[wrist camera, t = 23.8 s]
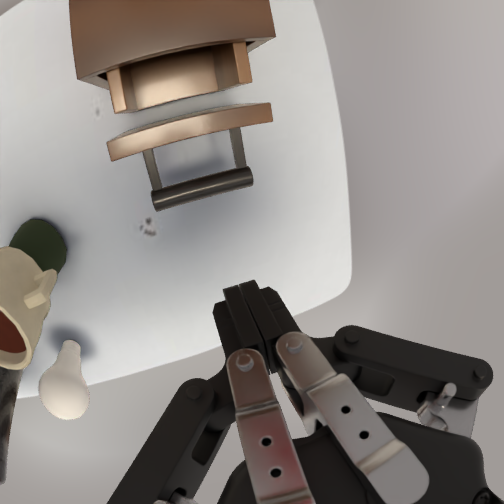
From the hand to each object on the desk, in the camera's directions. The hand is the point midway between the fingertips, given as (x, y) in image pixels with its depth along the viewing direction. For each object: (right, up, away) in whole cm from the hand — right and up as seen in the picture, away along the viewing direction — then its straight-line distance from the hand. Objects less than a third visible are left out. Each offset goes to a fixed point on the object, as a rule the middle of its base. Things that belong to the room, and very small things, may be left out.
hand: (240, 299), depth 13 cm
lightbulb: (-22, -9, +16) cm, 28 cm away
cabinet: (-7, +22, +3) cm, 23 cm away
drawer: (-6, +15, +6) cm, 17 cm away
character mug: (-21, +3, +9) cm, 23 cm away
